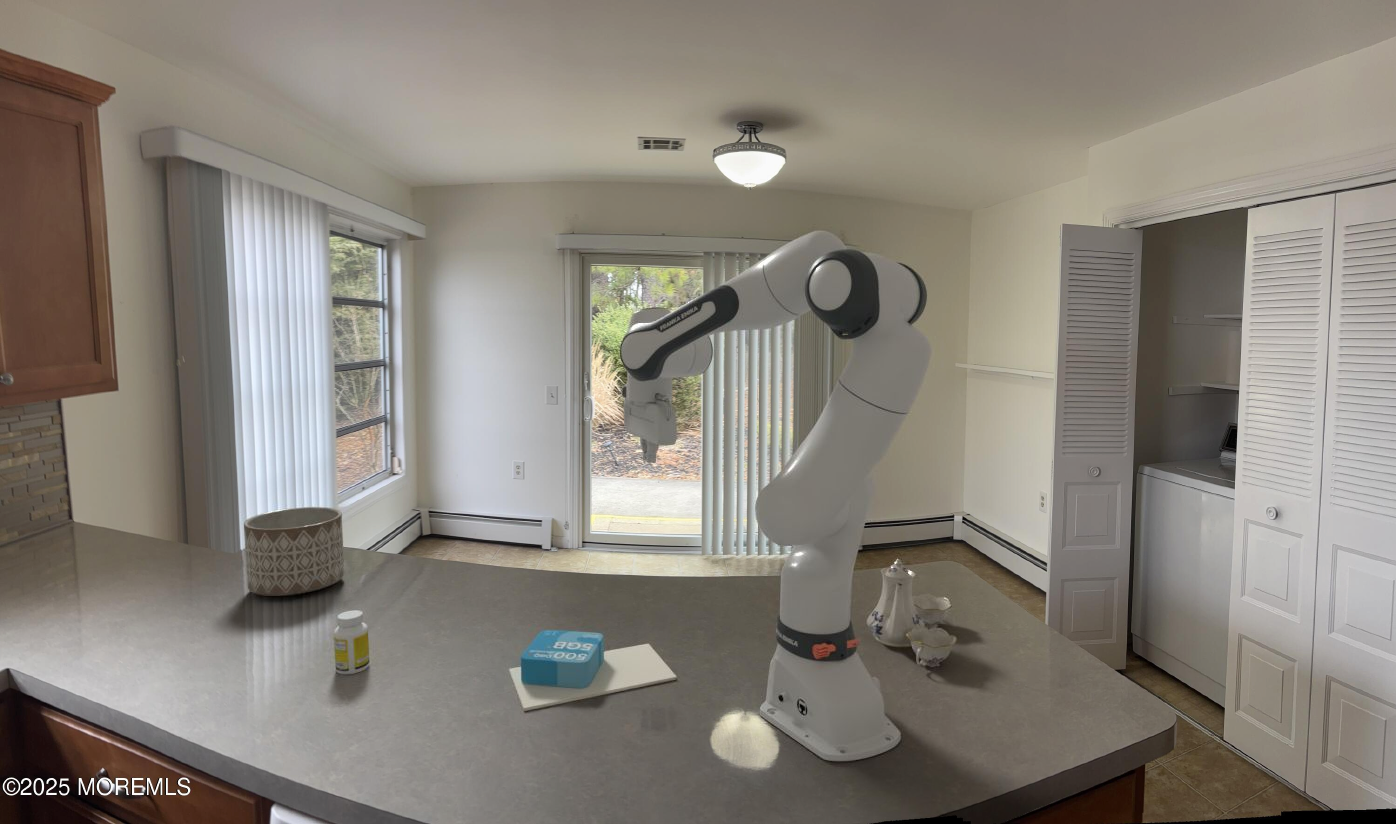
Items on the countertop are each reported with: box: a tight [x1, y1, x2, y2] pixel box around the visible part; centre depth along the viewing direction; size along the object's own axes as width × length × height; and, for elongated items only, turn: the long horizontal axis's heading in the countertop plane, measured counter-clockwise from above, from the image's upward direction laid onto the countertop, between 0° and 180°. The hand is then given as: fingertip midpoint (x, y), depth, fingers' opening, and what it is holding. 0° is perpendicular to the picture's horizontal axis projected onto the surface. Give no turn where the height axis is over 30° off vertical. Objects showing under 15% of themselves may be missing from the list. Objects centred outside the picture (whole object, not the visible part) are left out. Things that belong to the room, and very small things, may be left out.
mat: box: [508, 643, 678, 712], centre depth 121 cm, size 14×26×1 cm, turn 114°
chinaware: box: [866, 558, 958, 668], centre depth 136 cm, size 28×17×17 cm, turn 168°
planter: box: [243, 506, 345, 597], centre depth 159 cm, size 19×19×16 cm
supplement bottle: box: [333, 609, 370, 675], centre depth 122 cm, size 5×5×10 cm
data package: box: [520, 629, 605, 688], centre depth 121 cm, size 12×4×12 cm
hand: (649, 461), depth 137 cm, fingers closed
